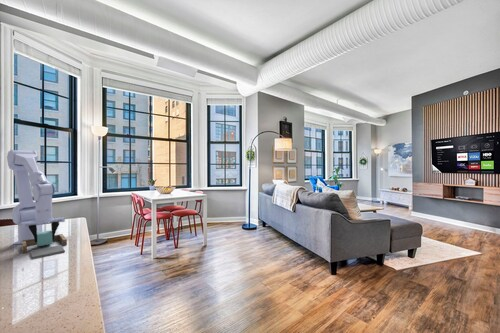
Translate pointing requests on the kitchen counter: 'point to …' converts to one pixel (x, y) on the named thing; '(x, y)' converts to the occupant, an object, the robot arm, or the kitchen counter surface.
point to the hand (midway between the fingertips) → (44, 240)
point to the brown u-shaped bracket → (32, 242)
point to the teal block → (44, 238)
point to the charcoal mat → (47, 251)
